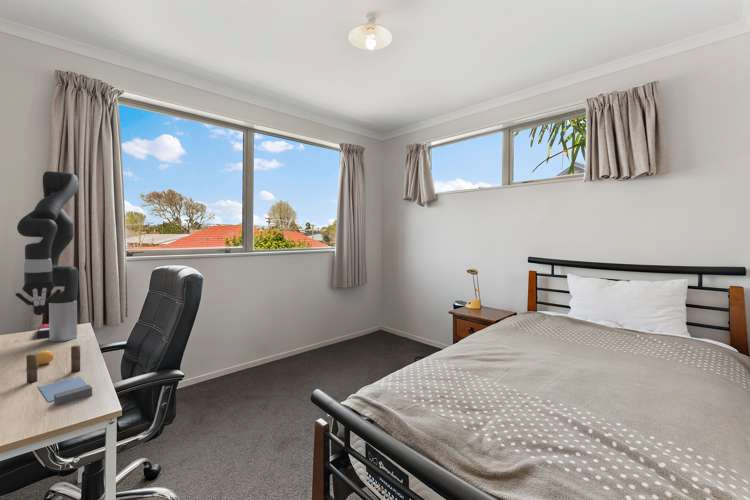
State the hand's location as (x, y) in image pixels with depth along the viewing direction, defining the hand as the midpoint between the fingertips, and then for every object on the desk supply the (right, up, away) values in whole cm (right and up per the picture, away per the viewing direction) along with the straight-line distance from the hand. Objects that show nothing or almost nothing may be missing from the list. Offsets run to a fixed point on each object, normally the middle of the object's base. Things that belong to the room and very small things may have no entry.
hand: (38, 314), depth 126 cm
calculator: (-23, -15, +30) cm, 41 cm away
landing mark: (+31, -19, -22) cm, 43 cm away
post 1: (+17, -19, -18) cm, 31 cm away
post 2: (+23, -18, -10) cm, 31 cm away
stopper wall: (+40, -20, -28) cm, 52 cm away
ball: (+7, -15, -5) cm, 17 cm away
